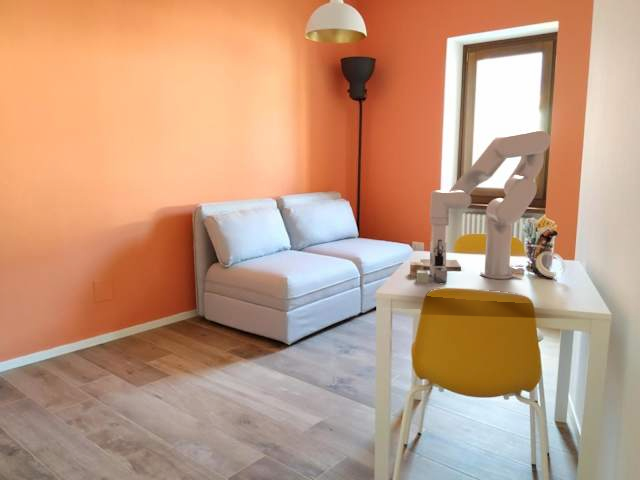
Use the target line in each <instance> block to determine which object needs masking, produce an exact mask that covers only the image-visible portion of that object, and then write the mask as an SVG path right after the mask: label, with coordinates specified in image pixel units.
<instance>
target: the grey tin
mask: <svg viewBox="0 0 640 480" xmlns="http://www.w3.org/2000/svg"><path fill="white" fill-rule="evenodd" d="M446 282H447V283H448V270H447V269H444V268H435V269H434V277H433V283H435V284H440V283H443V284H447V283H446Z"/></svg>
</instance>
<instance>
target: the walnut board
mask: <svg viewBox="0 0 640 480" xmlns="http://www.w3.org/2000/svg"><path fill="white" fill-rule="evenodd" d="M420 262H423V271H430V258H428V259H427V258H426V259H425V258H423V259H420ZM446 269H447V271H462V266H461V265H460V263H459V262H458V260H457V259H446Z"/></svg>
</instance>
